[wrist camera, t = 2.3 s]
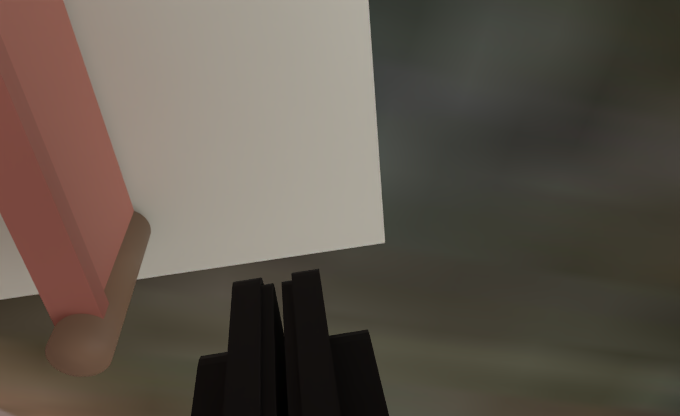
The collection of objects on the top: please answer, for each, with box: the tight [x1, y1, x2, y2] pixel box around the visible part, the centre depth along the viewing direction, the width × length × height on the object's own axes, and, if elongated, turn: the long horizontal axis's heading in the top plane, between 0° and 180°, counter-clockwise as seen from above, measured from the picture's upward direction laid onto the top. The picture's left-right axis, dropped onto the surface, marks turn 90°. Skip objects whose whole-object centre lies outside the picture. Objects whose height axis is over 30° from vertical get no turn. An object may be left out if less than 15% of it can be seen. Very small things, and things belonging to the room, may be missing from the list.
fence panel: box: [0, 0, 151, 377], centre depth 17 cm, size 11×2×7 cm, turn 6°
